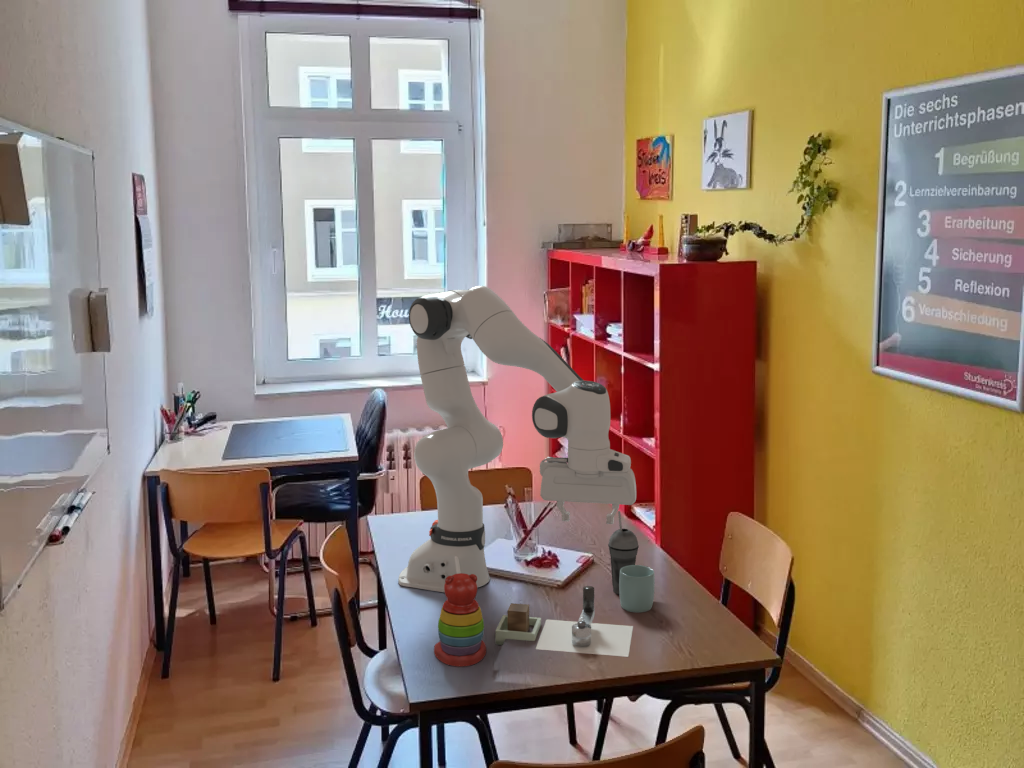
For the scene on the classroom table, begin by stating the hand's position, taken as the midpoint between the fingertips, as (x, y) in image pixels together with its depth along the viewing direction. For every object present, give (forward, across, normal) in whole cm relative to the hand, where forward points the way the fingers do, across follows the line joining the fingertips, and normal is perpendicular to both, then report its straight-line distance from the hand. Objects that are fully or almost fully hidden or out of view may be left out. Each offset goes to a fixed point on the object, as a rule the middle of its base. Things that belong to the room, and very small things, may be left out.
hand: (587, 521), depth 207 cm
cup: (+25, +10, +13) cm, 30 cm away
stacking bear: (+25, -24, -16) cm, 38 cm away
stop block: (+24, -14, -5) cm, 29 cm away
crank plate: (+25, 0, -6) cm, 26 cm away
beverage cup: (+25, +6, +25) cm, 36 cm away
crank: (+23, 0, -5) cm, 24 cm away
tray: (+25, -14, -5) cm, 29 cm away
